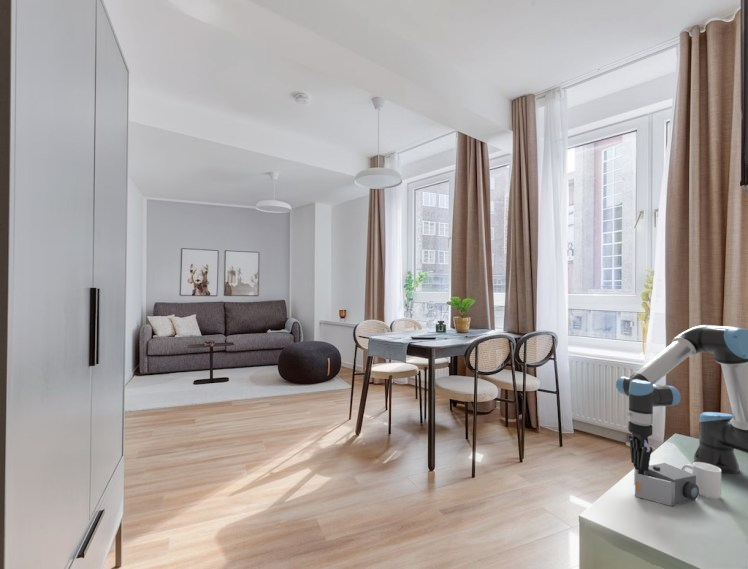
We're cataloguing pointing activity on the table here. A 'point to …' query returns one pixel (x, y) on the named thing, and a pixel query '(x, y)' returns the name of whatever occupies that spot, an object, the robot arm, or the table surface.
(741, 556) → the table surface
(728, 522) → the table surface
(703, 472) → the cup
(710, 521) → the table surface
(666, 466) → the camera body
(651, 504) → the table surface
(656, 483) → the side door
